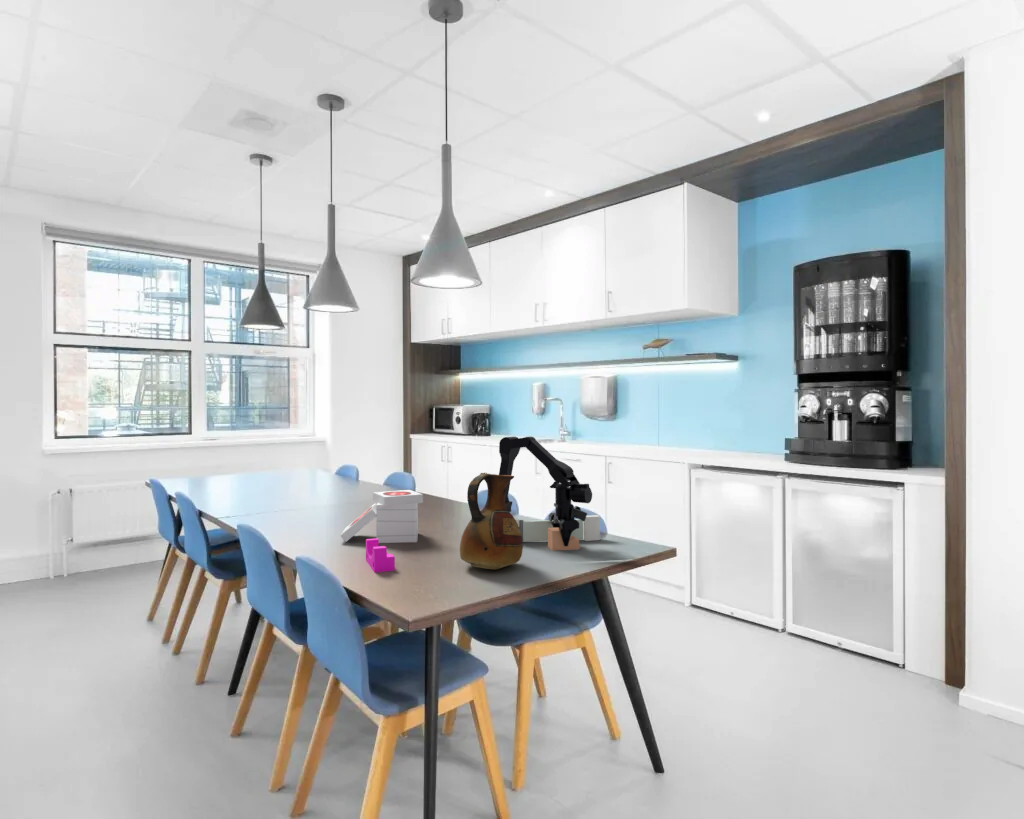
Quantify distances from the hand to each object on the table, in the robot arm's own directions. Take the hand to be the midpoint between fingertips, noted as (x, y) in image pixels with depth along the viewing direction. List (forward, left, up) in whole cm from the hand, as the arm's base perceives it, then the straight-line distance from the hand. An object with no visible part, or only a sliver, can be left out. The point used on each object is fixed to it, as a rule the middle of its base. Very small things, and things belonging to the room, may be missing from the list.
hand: (563, 544), depth 222 cm
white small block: (-13, +11, -1) cm, 17 cm away
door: (-13, +11, -1) cm, 17 cm away
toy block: (-65, -11, -2) cm, 66 cm away
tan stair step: (0, 0, -1) cm, 1 cm away
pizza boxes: (-64, +26, -2) cm, 69 cm away
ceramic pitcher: (-30, -20, -2) cm, 36 cm away
